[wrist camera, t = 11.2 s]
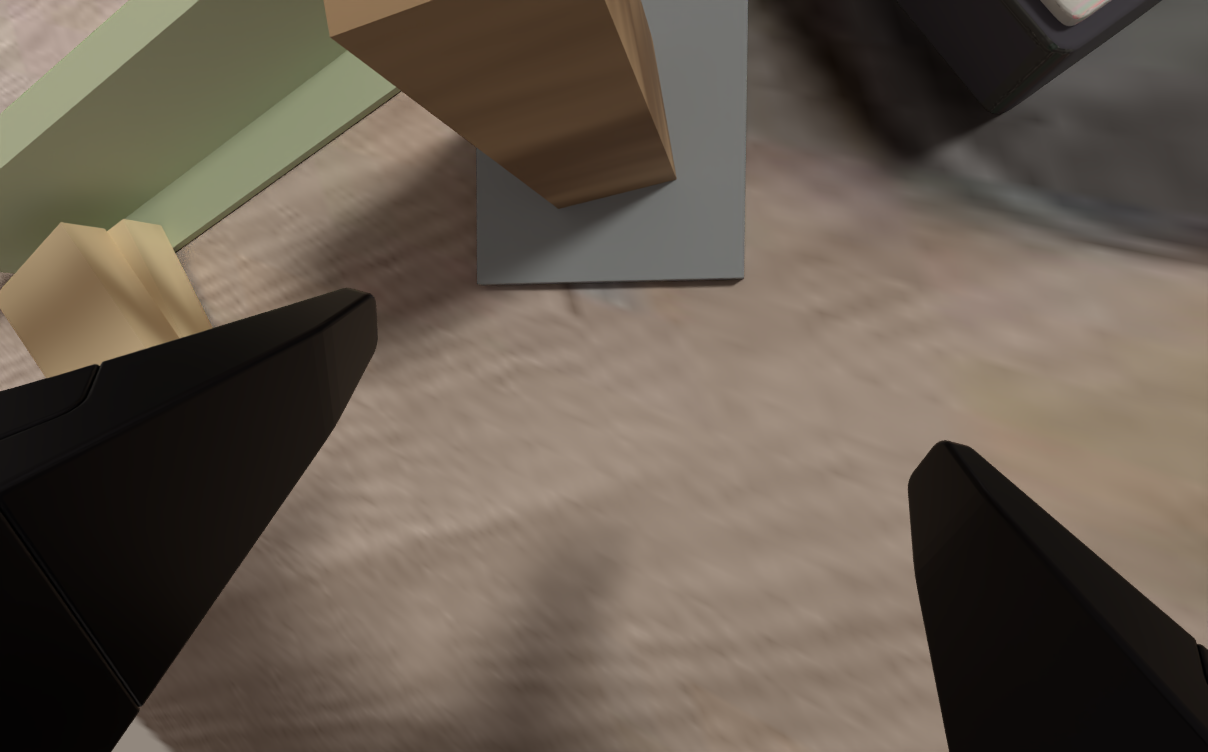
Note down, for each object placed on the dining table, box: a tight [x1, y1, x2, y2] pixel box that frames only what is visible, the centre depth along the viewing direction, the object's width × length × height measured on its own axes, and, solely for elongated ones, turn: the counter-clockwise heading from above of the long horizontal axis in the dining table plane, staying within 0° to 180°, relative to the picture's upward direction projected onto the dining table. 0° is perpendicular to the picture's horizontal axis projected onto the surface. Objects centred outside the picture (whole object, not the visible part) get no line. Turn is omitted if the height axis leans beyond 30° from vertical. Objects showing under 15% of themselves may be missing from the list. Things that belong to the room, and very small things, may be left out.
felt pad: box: [476, 0, 748, 285], centre depth 19 cm, size 10×9×1 cm
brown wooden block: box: [323, 0, 677, 209], centre depth 14 cm, size 4×4×11 cm
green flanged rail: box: [0, 0, 401, 274], centre depth 21 cm, size 5×18×5 cm, turn 118°
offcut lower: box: [107, 219, 212, 338], centre depth 23 cm, size 7×5×2 cm
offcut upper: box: [0, 222, 179, 378], centre depth 22 cm, size 6×4×2 cm
